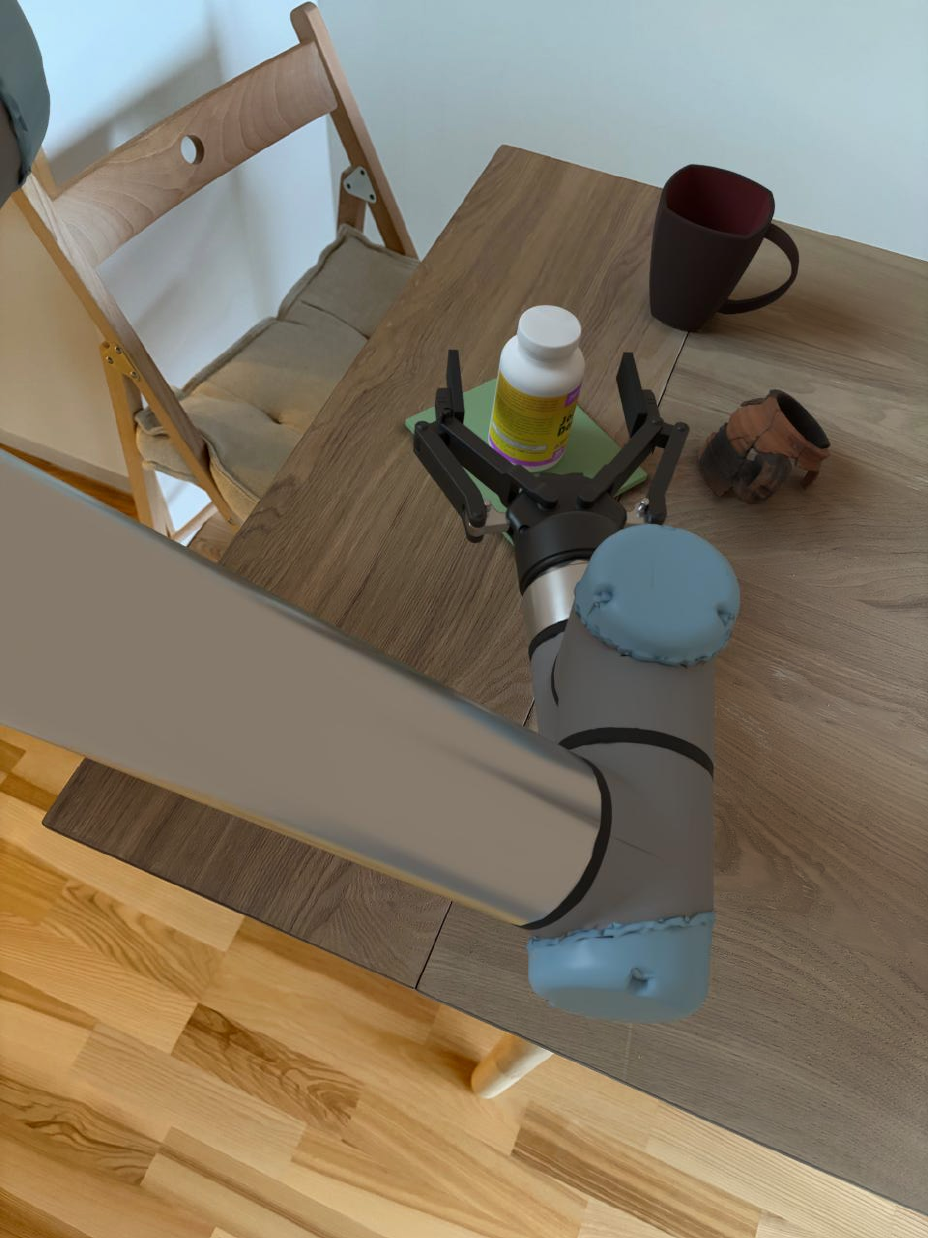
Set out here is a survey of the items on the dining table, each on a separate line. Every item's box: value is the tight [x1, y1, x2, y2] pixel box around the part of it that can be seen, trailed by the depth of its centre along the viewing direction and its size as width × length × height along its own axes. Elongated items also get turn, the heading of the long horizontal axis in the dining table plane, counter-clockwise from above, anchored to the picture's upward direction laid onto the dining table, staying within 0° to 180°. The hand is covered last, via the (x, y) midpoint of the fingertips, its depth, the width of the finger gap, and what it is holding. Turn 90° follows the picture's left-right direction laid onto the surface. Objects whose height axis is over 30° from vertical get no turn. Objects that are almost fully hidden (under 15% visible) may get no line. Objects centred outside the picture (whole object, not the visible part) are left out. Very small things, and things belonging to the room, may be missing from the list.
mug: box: [648, 163, 800, 333], centre depth 88 cm, size 10×14×12 cm
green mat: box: [404, 377, 648, 547], centre depth 81 cm, size 16×14×1 cm
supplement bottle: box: [488, 304, 586, 472], centre depth 75 cm, size 7×7×13 cm
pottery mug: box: [697, 388, 831, 506], centre depth 79 cm, size 12×10×8 cm
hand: (538, 363), depth 73 cm, fingers open, 13 cm apart
